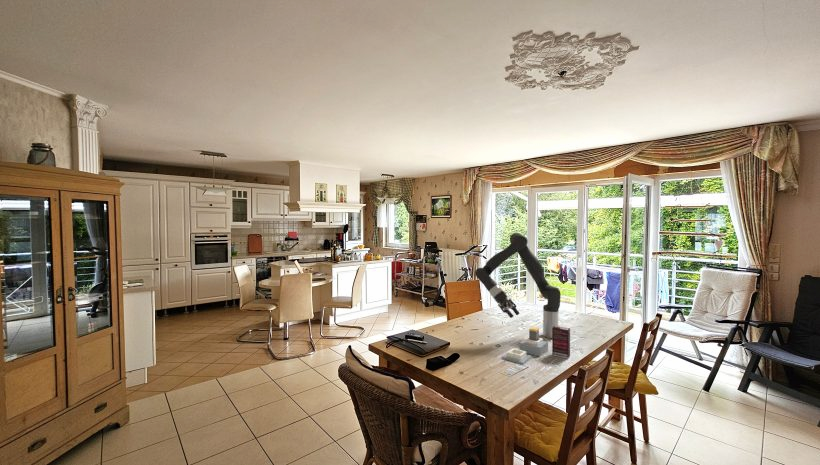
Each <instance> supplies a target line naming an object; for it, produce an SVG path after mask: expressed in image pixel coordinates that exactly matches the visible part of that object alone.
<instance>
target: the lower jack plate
mask: <svg viewBox="0 0 820 465" xmlns="http://www.w3.org/2000/svg"><path fill="white" fill-rule="evenodd" d="M532 358H533V356H532V355H531V354H530V355H529V354H527V353H526V351H522V350H520V349H517V348H514V347H513V348H512V349H510V350H508V351H507V352H506V353H505V354H503V355H502V356H501V359H503V360H505V361H509V362H513V363H517V364H520V365H525V364H526V363H527V362H528V361H530V360H532Z"/></svg>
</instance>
